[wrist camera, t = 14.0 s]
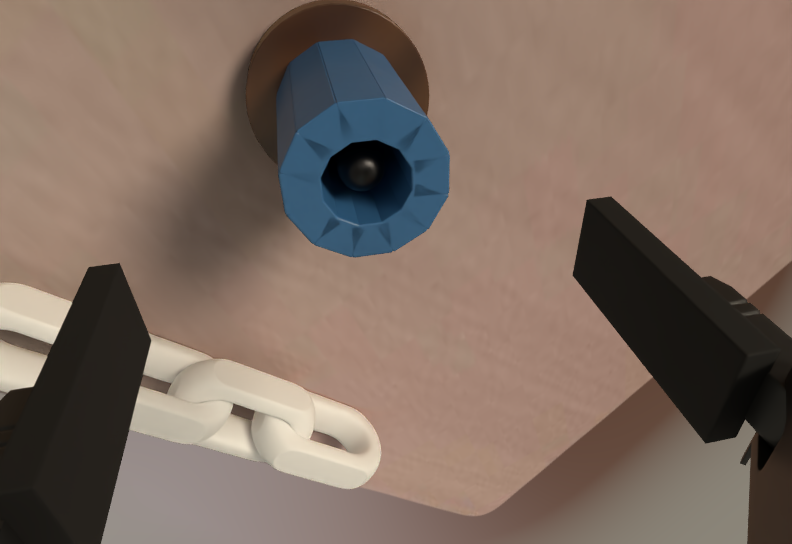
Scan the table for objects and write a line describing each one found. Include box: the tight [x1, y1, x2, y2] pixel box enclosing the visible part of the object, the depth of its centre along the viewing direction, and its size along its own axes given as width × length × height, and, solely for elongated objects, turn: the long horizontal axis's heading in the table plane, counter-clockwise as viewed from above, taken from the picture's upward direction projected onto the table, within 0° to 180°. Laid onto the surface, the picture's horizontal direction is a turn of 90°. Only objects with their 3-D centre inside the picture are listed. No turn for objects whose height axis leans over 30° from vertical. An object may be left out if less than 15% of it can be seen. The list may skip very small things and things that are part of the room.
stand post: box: [334, 140, 385, 191], centre depth 26 cm, size 2×2×10 cm
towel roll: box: [276, 39, 450, 257], centre depth 26 cm, size 7×7×10 cm
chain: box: [0, 282, 381, 489], centre depth 38 cm, size 30×6×6 cm, turn 53°
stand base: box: [246, 0, 429, 165], centre depth 30 cm, size 10×10×2 cm
